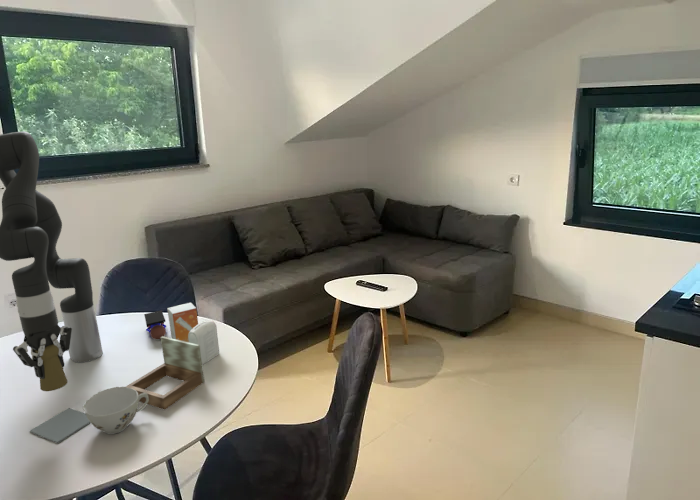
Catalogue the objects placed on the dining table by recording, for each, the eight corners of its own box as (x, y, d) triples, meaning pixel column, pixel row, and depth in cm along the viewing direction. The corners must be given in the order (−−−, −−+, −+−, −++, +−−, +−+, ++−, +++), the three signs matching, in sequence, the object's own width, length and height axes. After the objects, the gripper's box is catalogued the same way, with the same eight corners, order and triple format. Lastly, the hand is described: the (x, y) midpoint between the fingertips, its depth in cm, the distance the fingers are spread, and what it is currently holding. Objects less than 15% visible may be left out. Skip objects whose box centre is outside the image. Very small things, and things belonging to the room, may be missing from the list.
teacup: (94, 449, 123) (88, 421, 121) (84, 424, 133) (79, 397, 130) (158, 425, 131) (153, 398, 129) (145, 403, 141) (140, 377, 139)
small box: (177, 350, 171) (171, 313, 167) (171, 343, 176) (166, 307, 172) (201, 343, 175) (196, 307, 171) (195, 336, 180) (190, 301, 176)
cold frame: (127, 397, 144) (120, 359, 141) (168, 372, 157) (162, 336, 154) (165, 410, 138) (158, 370, 134) (204, 382, 151) (199, 344, 147)
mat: (29, 432, 131) (29, 430, 130) (69, 408, 140) (69, 407, 140) (57, 443, 126) (57, 442, 126) (96, 418, 135) (96, 417, 135)
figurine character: (145, 331, 189) (149, 343, 176) (141, 311, 188) (145, 321, 174) (164, 327, 192) (170, 338, 179) (161, 307, 191) (166, 317, 177)
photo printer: (211, 350, 169) (206, 316, 166) (221, 353, 168) (217, 318, 164) (189, 365, 161) (184, 329, 157) (200, 368, 159) (195, 331, 155)
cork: (52, 393, 126) (42, 352, 123) (34, 388, 128) (25, 348, 125) (73, 380, 131) (64, 341, 128) (56, 376, 133) (47, 338, 130)
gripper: (16, 323, 116) (32, 391, 121) (74, 301, 128) (86, 363, 133) (-3, 318, 119) (13, 384, 124) (55, 297, 131) (67, 358, 136)
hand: (51, 373), depth 128 cm, fingers closed on cork, 4 cm apart
